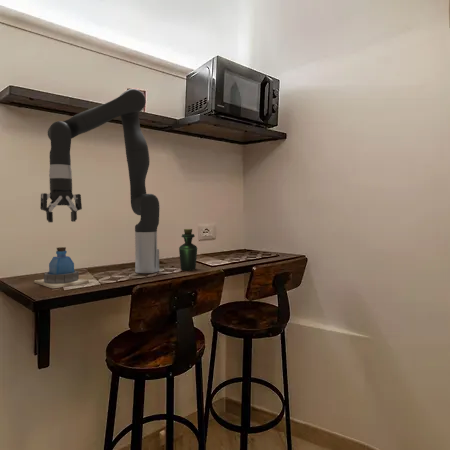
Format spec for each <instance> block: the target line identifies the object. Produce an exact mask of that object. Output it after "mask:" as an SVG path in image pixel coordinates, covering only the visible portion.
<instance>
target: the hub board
mask: <svg viewBox="0 0 450 450" xmlns="http://www.w3.org/2000/svg"><path fill="white" fill-rule="evenodd" d="M79 276H80V275H79V270H75V269H74V273H69V274H60V275H52V274H49V271H46V272H44V273H43V278H42V279H37V280H36V279H35V280H34V281H33V283H35V284H37V285H41V286H44V287H46V288H50V289H58V288H63V287H64V288H65V287H72V286H75V285H76V286H77V285H82V284H83V285H84V284H89V282H90V280H88V279H86V278H85V279H84V278H81V277H79Z"/></svg>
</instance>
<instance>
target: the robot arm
mask: <svg viewBox="0 0 450 450" xmlns="http://www.w3.org/2000/svg"><path fill="white" fill-rule="evenodd" d="M146 101H147V100H146V96H145V95H144V93H143V92H142V91H141V90H139V89H137V88H129V89H127V90H125V91H124V92H122V93H121V94H120V95H119V96H118V97H115V98H114V99H112V100H110V101H107V102H105V103H102V104H100V105H97V106H95V107H92V108H89V109H86V110H84V111H81V112H78V113H76V114H75V115H73V116H71V117H70V118H68V119H66V120H63V121H60V120H59V121H57V120H56V121H55V122H53V123H52V124H51V125H50V126H49V127H48V129H47V137H48V139H49V140H50V150H49V171H48V173H49V174H48V176H49V193H46V192H45V193H43V192H42V193H40V206H39V207H40V210H41V211H43V212H44V211H45V213H46V216H45V217H46V221H48V223H53V222H54V216H53V215H54V213H53V211H54V209H55V208H56V207H57V206H66V207H68V208H69V209H70V210H71V211H70V221H71V222H76V221H77V219H78V214H77V213H78V211H80V210H81V211H82V209H83V207H82V196H81V194H80V193H76V194H73V173H72V164H71V163H72V162H71V161H72V160H71V148H72V139H74V138H76V137H77V136H79V135H82V134H84V133H88V132H90V131H92V130H94V129H97V128H98V127H100V126H101V127H102V126H103V125H105V124H106V123H109V122H110V121H112V120H113V119H114V120H115V119H116V118H118V117H120V119H121V123H122V124H121V125H122V129H123V130H122V131H123V140H124V147H125V155H126V163H127V169H128V178H129V188H130V193H129V194H130V206H131V210H132V212H133V213H134V214H135V215H137V216H140V219H139V222H138V223H136V225H134V245H135V246H134V249H135V251H134V256H135V257H134V258H135V259H134V262H135V265H134V266H135V268H134V271H135V273H136V274H152V273H157V272H160V248H158V226H159V224H160V209H161V208H160V201H159V198H158V197H157V196H156V195H155V194H153V193H147V190H146V189H147V188H146V187H147V186H146V178H147V176H148V175H147V174H148V171H149V167H150V152H149V147H148V143H147V140H146V138H145V135H144V134H143V132H142V129H141V125H140V114H139V113H140V112H142V110H143V109H144V108H145V107H146ZM49 199H50V203H48V200H49ZM72 200H74V201H72Z"/></svg>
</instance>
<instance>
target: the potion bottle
mask: <svg viewBox="0 0 450 450" xmlns="http://www.w3.org/2000/svg"><path fill="white" fill-rule="evenodd" d="M183 232H184V233H182V234H181V238H183V240H184V243H183V244H181V245H180V246H179V247H178V253H179V262H180V270H182V271H186V272H187V271H189V270H190V271H195V270H196V269H197V268H196V267H197V260H198V259H197V255H198V247H197V245H196V244H194V243H192V242H193V238H195V234H194V233H193V228H184V229H183Z"/></svg>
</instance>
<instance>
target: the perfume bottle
mask: <svg viewBox="0 0 450 450" xmlns="http://www.w3.org/2000/svg"><path fill="white" fill-rule="evenodd" d="M66 249H67V247H66V246H64V247H62V246H60V247H58V246H57V247H56V251H55V254H56V256H53V257H52V259H51V260H50V262H49V263H48V268H49V269H48V272H49V274H52V275H60V274H69V273H74V270H75V263H74V261H73V260H72V258H71V257H70V256H67V250H66Z"/></svg>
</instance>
